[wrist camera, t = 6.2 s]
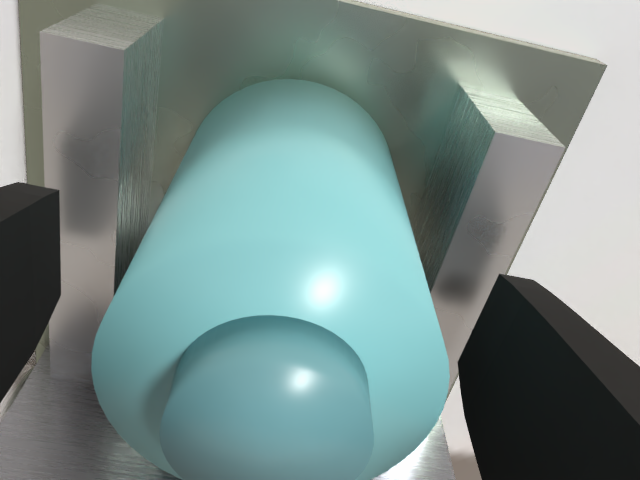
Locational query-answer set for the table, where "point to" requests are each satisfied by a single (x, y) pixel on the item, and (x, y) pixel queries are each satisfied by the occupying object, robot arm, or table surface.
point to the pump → (276, 302)
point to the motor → (186, 117)
